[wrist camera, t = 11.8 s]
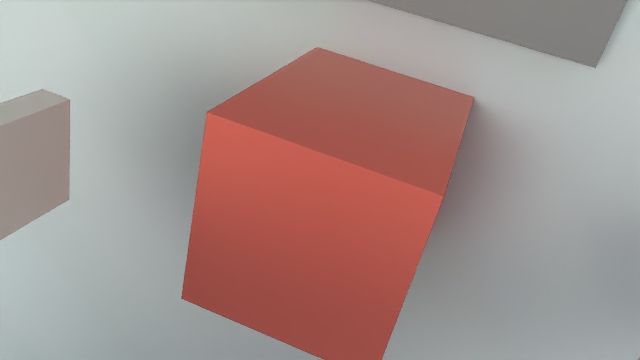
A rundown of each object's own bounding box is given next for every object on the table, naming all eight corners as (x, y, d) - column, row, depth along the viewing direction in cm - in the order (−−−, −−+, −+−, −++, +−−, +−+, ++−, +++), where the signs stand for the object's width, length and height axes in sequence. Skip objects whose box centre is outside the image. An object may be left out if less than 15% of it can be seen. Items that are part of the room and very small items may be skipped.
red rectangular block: (286, 184, 20) (181, 298, 14) (317, 46, 18) (206, 112, 12) (422, 234, 19) (373, 380, 13) (474, 97, 17) (444, 196, 11)
